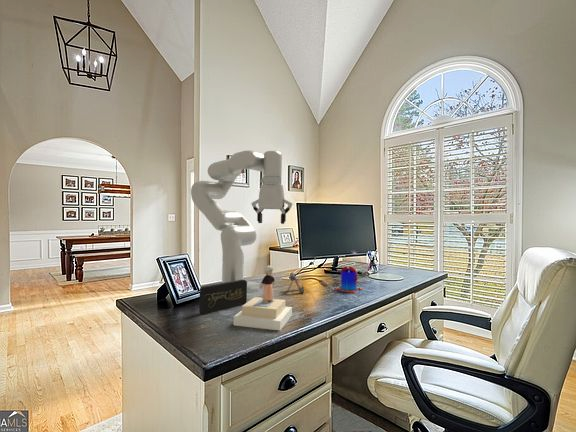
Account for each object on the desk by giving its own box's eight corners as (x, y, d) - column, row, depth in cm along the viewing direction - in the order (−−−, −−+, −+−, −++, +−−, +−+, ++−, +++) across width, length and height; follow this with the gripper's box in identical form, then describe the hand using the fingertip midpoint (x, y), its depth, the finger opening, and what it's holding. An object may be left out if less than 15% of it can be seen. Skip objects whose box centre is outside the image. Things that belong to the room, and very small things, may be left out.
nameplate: (202, 315, 114) (202, 287, 114) (199, 314, 115) (199, 286, 115) (246, 304, 129) (247, 279, 129) (243, 303, 131) (244, 279, 131)
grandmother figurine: (267, 304, 107) (268, 267, 107) (257, 303, 108) (258, 266, 108) (278, 299, 114) (278, 264, 114) (268, 298, 115) (269, 263, 115)
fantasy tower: (332, 289, 157) (332, 266, 157) (344, 286, 166) (344, 263, 166) (353, 294, 150) (353, 269, 150) (364, 290, 158) (365, 266, 158)
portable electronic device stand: (303, 294, 148) (304, 276, 148) (287, 293, 148) (287, 276, 148) (303, 289, 156) (303, 273, 156) (287, 289, 157) (287, 272, 156)
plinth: (233, 325, 104) (233, 306, 104) (250, 311, 119) (251, 294, 119) (280, 330, 100) (280, 311, 100) (291, 315, 116) (292, 298, 116)
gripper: (249, 180, 128) (248, 223, 128) (290, 180, 123) (289, 224, 123) (255, 182, 135) (254, 222, 135) (294, 182, 131) (293, 223, 131)
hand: (271, 223), depth 129 cm, fingers open, 9 cm apart
